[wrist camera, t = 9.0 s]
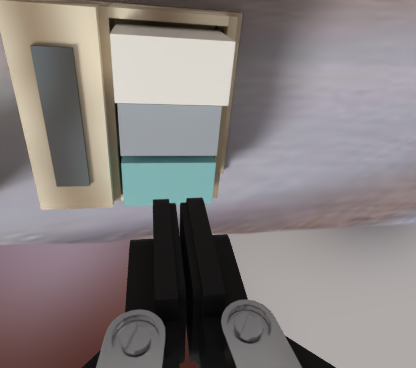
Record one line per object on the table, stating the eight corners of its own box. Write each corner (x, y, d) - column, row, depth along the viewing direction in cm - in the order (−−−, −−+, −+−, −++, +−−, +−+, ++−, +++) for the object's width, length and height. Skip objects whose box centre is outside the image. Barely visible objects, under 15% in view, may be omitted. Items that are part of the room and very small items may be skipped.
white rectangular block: (218, 30, 23) (235, 41, 19) (214, 84, 25) (228, 105, 21) (116, 23, 22) (109, 33, 17) (119, 81, 24) (114, 103, 19)
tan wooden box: (240, 12, 26) (265, 20, 21) (222, 170, 34) (236, 205, 29) (25, -5, 23) (-9, -1, 18) (58, 172, 31) (40, 211, 26)
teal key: (205, 136, 29) (216, 162, 25) (202, 173, 31) (211, 203, 27) (124, 135, 28) (121, 163, 23) (126, 174, 30) (124, 206, 25)
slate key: (209, 86, 27) (222, 106, 22) (206, 130, 29) (216, 155, 24) (121, 83, 25) (117, 103, 21) (124, 129, 27) (120, 155, 23)
